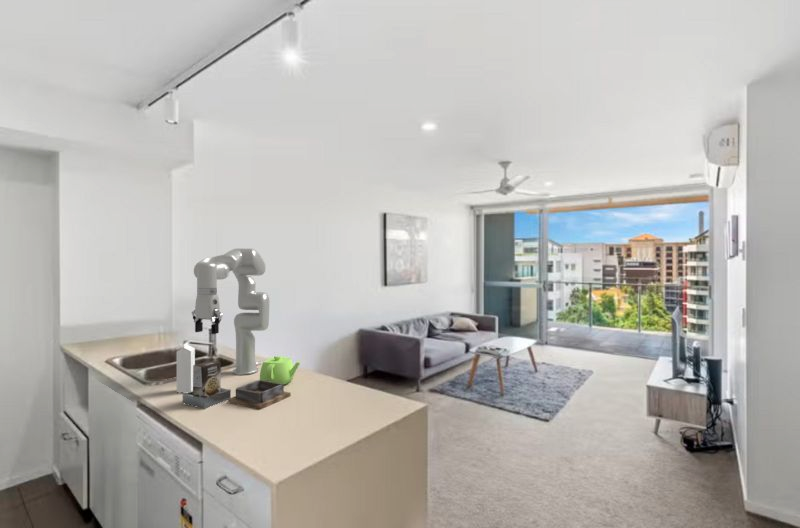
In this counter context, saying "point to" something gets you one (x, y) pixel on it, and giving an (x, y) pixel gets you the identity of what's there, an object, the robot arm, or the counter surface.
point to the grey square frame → (206, 399)
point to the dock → (259, 394)
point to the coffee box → (207, 379)
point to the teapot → (278, 370)
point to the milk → (185, 368)
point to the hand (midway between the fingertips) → (206, 332)
